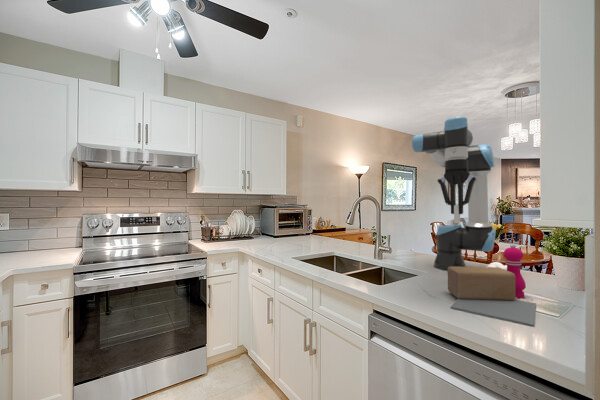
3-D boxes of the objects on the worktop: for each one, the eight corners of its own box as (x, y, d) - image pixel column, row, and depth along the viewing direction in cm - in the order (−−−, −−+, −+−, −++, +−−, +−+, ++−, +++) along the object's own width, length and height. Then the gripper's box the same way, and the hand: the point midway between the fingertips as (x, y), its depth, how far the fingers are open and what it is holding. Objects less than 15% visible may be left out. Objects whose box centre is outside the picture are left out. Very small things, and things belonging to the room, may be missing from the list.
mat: (464, 292, 113) (464, 290, 113) (536, 305, 98) (536, 303, 98) (450, 308, 96) (450, 306, 96) (534, 326, 82) (534, 324, 82)
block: (457, 299, 103) (516, 301, 100) (457, 272, 103) (516, 273, 100) (446, 290, 113) (500, 292, 110) (446, 265, 113) (500, 266, 110)
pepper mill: (501, 291, 113) (500, 241, 113) (523, 294, 110) (522, 242, 110) (503, 297, 107) (502, 244, 107) (528, 300, 103) (526, 245, 103)
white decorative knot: (508, 281, 128) (508, 261, 128) (524, 289, 116) (524, 267, 116) (480, 280, 130) (480, 260, 130) (493, 287, 118) (493, 266, 118)
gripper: (434, 160, 106) (435, 222, 106) (474, 156, 98) (475, 224, 98) (440, 162, 112) (441, 221, 112) (478, 158, 103) (479, 222, 103)
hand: (457, 222), depth 105 cm, fingers closed
